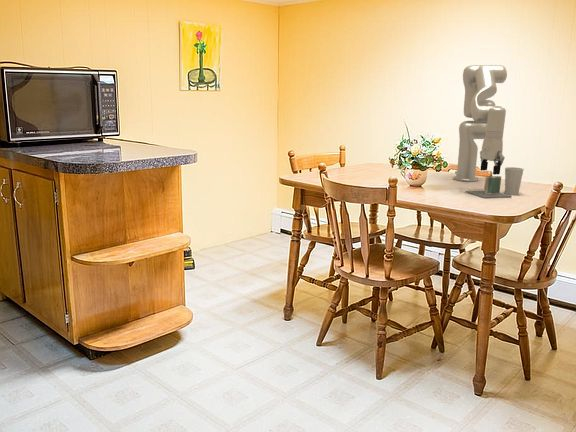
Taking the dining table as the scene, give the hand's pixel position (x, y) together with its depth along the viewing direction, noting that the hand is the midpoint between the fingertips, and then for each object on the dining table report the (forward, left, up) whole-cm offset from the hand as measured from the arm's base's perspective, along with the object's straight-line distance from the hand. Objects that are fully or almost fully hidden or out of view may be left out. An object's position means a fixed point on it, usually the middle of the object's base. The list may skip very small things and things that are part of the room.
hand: (489, 172), depth 246 cm
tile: (+1, -2, -6) cm, 6 cm away
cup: (0, +13, -11) cm, 17 cm away
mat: (+1, 0, -10) cm, 10 cm away
